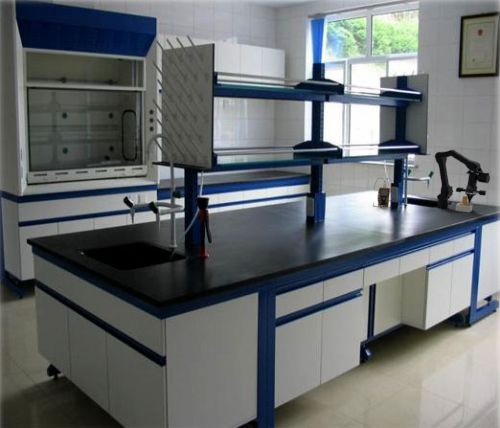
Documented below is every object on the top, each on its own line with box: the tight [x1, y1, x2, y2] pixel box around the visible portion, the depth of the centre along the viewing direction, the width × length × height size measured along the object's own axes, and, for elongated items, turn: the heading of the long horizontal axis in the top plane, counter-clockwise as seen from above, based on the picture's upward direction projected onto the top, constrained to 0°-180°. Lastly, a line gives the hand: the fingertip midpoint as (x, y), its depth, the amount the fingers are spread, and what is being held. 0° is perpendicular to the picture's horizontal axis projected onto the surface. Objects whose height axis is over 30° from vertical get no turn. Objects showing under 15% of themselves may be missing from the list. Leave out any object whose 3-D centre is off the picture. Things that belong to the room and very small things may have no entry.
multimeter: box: [372, 177, 393, 208], centre depth 388 cm, size 15×10×20 cm
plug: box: [458, 195, 470, 206], centre depth 384 cm, size 6×6×9 cm
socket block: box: [455, 202, 473, 213], centre depth 385 cm, size 9×10×4 cm
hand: (469, 203), depth 379 cm, fingers closed
